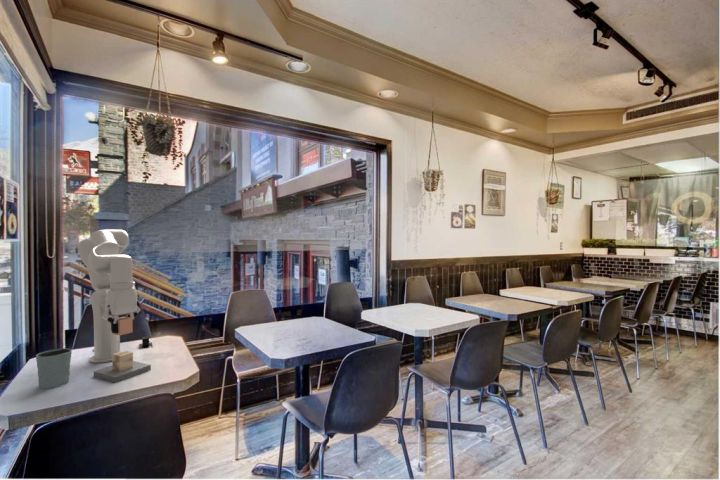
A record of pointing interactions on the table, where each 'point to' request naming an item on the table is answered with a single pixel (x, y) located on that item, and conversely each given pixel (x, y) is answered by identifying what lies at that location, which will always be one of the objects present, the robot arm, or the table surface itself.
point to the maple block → (122, 360)
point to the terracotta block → (124, 325)
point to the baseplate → (121, 372)
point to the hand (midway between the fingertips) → (122, 330)
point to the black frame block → (145, 343)
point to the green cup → (53, 367)
